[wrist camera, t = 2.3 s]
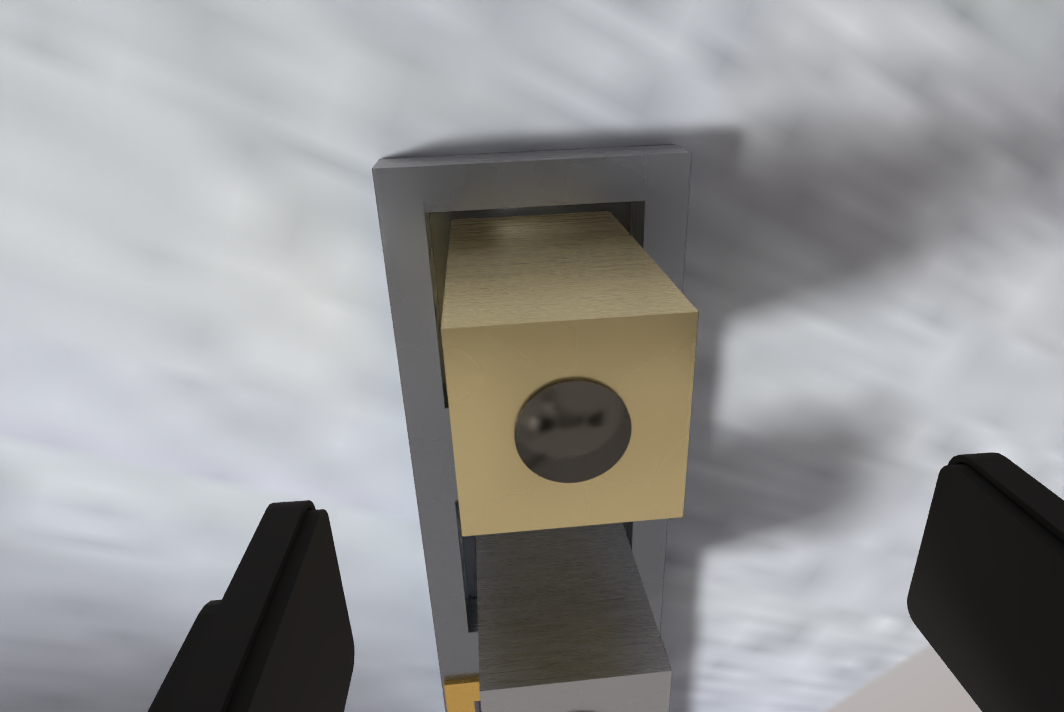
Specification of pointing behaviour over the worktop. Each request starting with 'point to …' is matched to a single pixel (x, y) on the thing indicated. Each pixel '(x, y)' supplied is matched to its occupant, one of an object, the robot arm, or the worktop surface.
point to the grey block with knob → (566, 624)
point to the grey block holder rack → (403, 212)
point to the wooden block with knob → (564, 374)
